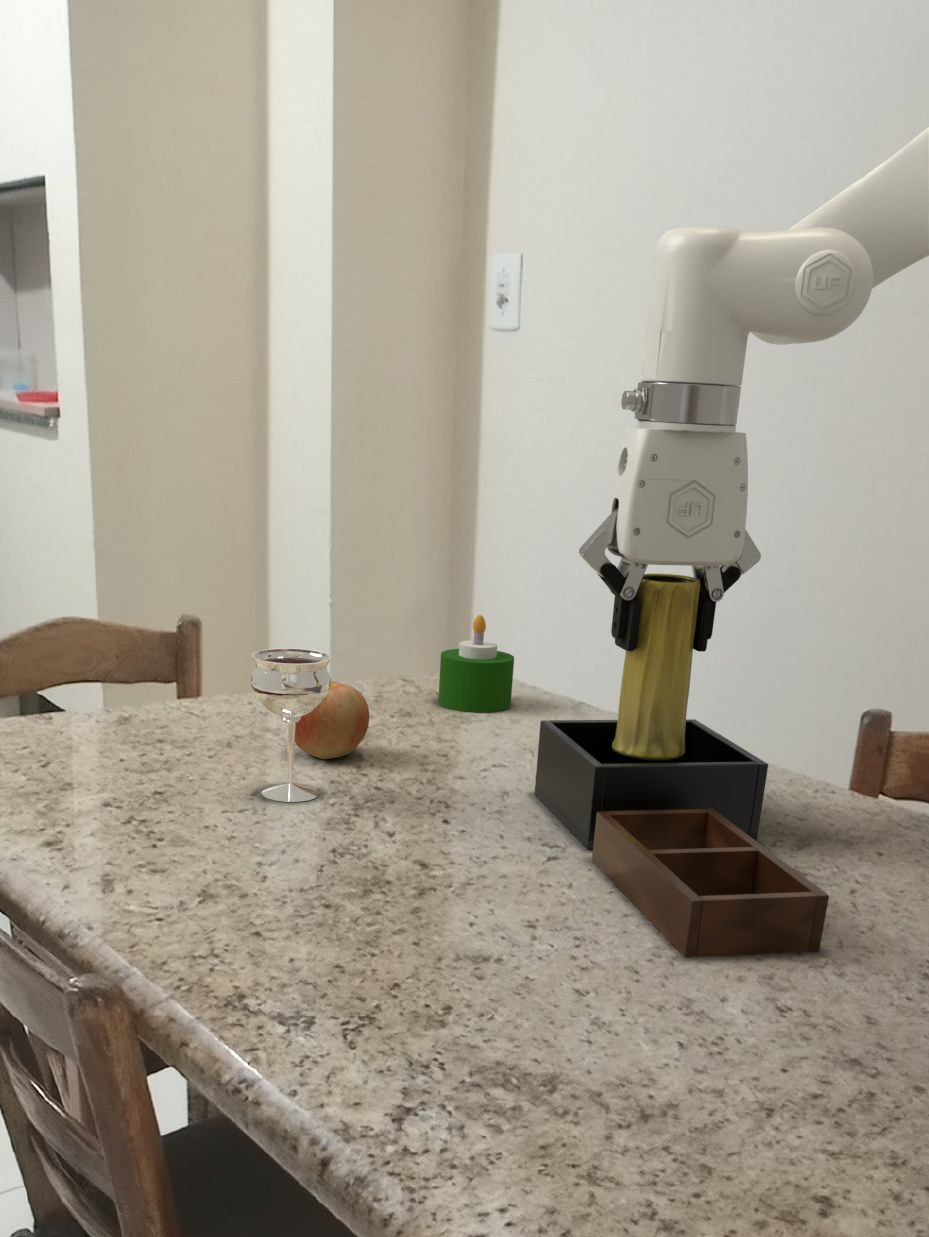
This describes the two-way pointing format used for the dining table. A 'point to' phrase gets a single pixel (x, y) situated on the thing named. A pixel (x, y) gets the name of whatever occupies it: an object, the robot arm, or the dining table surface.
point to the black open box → (644, 776)
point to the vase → (658, 670)
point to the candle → (476, 675)
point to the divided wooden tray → (708, 883)
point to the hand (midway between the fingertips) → (660, 645)
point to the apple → (334, 724)
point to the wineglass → (291, 700)
